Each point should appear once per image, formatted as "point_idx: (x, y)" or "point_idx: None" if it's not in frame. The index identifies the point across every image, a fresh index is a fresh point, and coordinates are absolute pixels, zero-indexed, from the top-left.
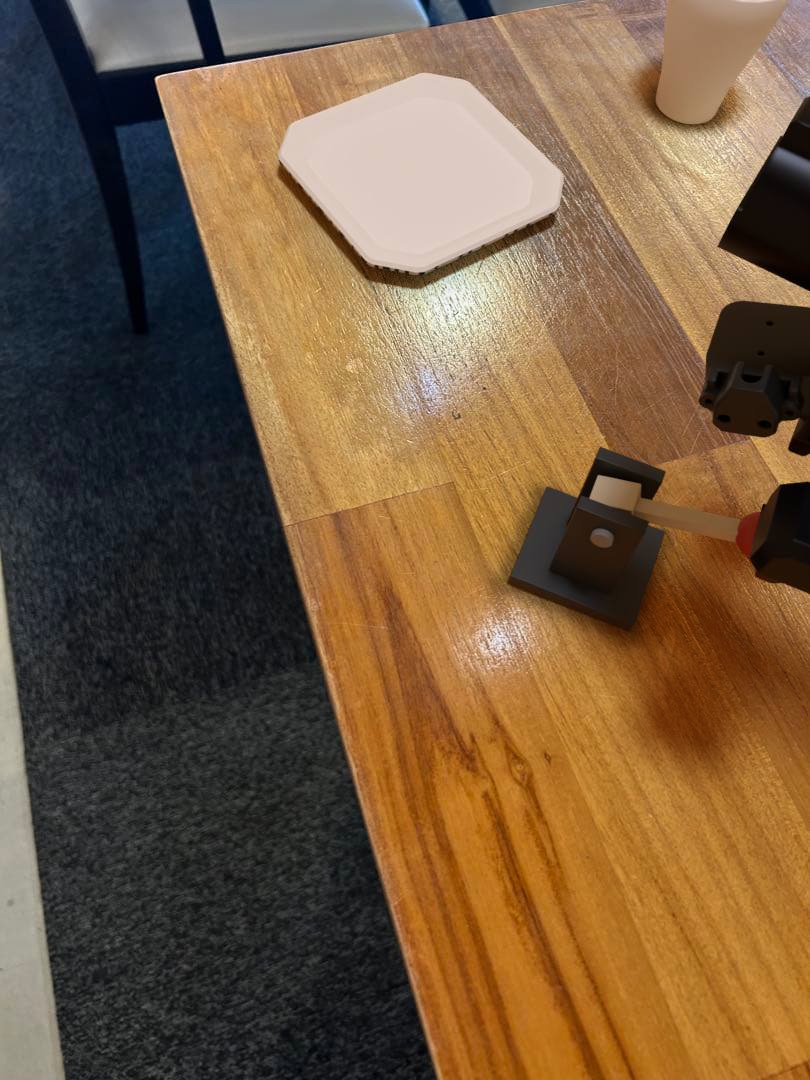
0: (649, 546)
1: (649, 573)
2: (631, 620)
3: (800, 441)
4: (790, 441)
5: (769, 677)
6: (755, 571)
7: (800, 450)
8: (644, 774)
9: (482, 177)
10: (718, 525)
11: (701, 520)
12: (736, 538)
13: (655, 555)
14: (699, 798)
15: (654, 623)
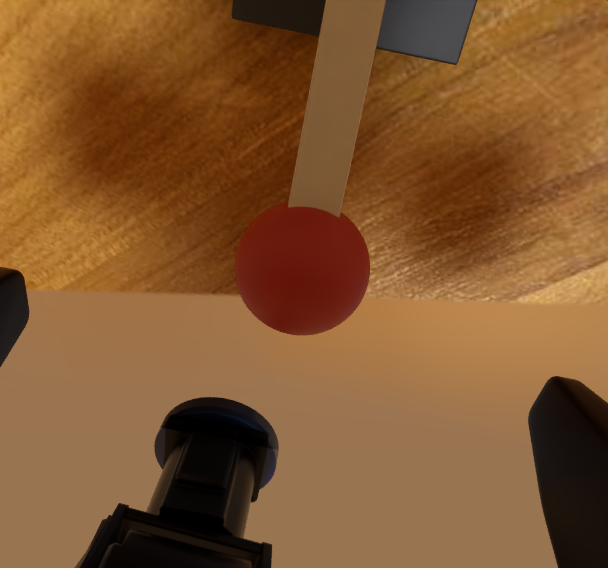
0: (416, 32)
1: None
2: (238, 9)
3: (573, 437)
4: (584, 395)
5: (232, 255)
6: (2, 269)
7: (545, 417)
8: (5, 73)
9: None
10: (311, 150)
11: (326, 97)
12: (283, 203)
13: (396, 48)
14: (15, 162)
15: (269, 66)
